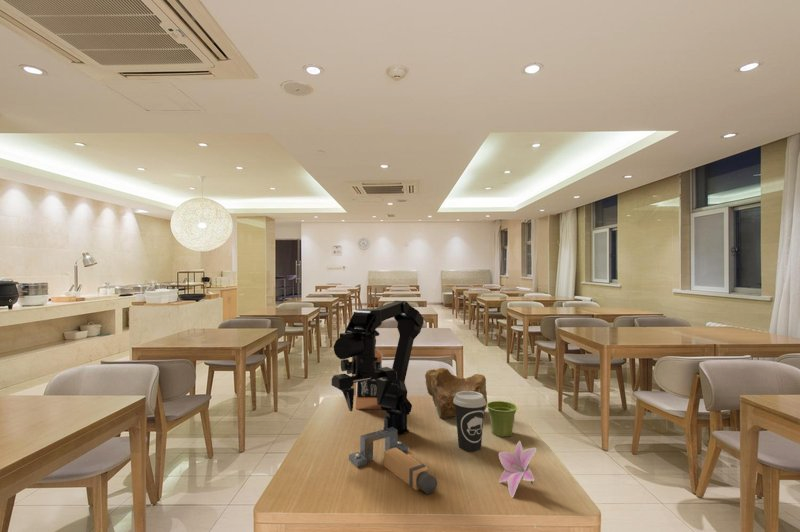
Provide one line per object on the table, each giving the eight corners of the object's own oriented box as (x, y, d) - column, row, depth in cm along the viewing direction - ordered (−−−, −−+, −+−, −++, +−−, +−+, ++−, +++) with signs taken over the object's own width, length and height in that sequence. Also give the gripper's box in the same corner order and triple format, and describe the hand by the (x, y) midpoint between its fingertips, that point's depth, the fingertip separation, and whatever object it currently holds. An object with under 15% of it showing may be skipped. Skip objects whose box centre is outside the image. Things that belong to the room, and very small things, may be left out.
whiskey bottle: (381, 409, 141) (381, 323, 142) (355, 409, 141) (355, 323, 142) (383, 400, 151) (383, 320, 152) (358, 400, 152) (359, 320, 152)
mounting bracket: (348, 459, 102) (349, 436, 102) (398, 444, 111) (398, 423, 111) (357, 467, 98) (357, 443, 98) (408, 451, 107) (408, 429, 107)
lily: (500, 472, 97) (485, 444, 95) (544, 459, 95) (530, 430, 93) (508, 515, 86) (491, 483, 84) (558, 501, 83) (543, 468, 81)
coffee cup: (489, 443, 112) (489, 392, 113) (482, 457, 104) (482, 402, 104) (458, 437, 116) (458, 388, 117) (449, 450, 108) (448, 397, 108)
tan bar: (383, 465, 99) (383, 450, 99) (396, 461, 101) (396, 446, 101) (424, 496, 85) (424, 479, 85) (437, 491, 87) (437, 473, 87)
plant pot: (512, 442, 113) (512, 413, 113) (482, 435, 118) (482, 407, 118) (520, 431, 121) (520, 404, 121) (492, 425, 126) (492, 399, 126)
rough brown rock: (415, 420, 133) (415, 378, 132) (427, 401, 148) (427, 364, 147) (482, 431, 125) (483, 387, 124) (487, 410, 141) (488, 371, 140)
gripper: (378, 345, 121) (378, 394, 120) (323, 352, 110) (323, 406, 109) (398, 351, 111) (398, 404, 111) (340, 358, 101) (340, 417, 100)
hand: (365, 407), depth 108 cm, fingers open, 9 cm apart
